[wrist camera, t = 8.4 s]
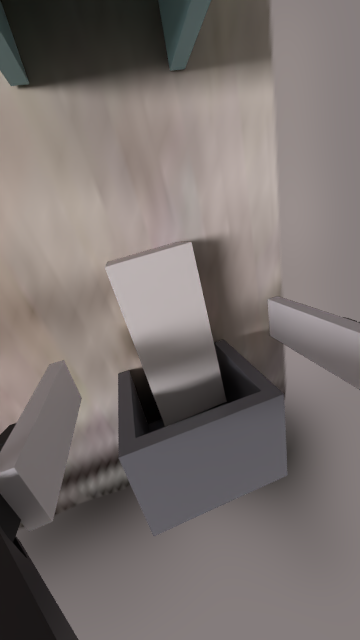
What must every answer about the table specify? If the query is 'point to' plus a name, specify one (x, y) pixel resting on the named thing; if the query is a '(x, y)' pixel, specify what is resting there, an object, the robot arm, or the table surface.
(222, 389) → the slat
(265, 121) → the table surface
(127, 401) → the charcoal cap
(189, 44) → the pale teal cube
